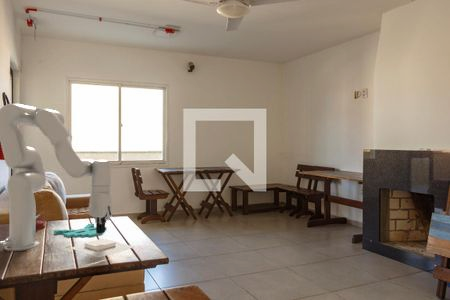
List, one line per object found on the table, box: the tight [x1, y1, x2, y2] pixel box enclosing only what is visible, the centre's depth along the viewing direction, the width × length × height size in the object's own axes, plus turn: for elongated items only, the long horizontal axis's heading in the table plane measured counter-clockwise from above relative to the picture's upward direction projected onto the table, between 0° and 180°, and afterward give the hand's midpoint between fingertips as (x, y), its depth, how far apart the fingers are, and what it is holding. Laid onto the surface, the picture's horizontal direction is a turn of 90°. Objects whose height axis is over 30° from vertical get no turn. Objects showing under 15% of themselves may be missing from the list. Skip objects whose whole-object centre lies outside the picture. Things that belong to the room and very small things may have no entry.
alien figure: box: [53, 222, 108, 238], centre depth 171 cm, size 20×2×20 cm
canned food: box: [36, 211, 47, 230], centre depth 180 cm, size 11×10×10 cm
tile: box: [84, 238, 117, 251], centre depth 147 cm, size 9×2×9 cm
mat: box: [69, 238, 135, 259], centre depth 146 cm, size 18×20×1 cm
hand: (100, 232), depth 147 cm, fingers closed
